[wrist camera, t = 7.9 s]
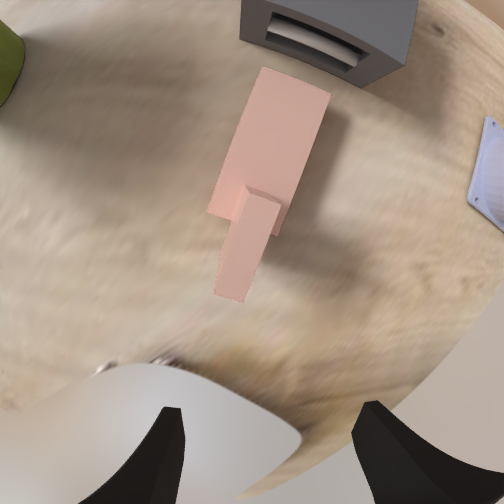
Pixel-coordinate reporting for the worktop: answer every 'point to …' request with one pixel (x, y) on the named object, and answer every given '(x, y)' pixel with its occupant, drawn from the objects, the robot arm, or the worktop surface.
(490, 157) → the robot arm
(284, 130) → the pink stepped block
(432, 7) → the worktop surface
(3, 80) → the plant pot
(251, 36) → the grey square box
